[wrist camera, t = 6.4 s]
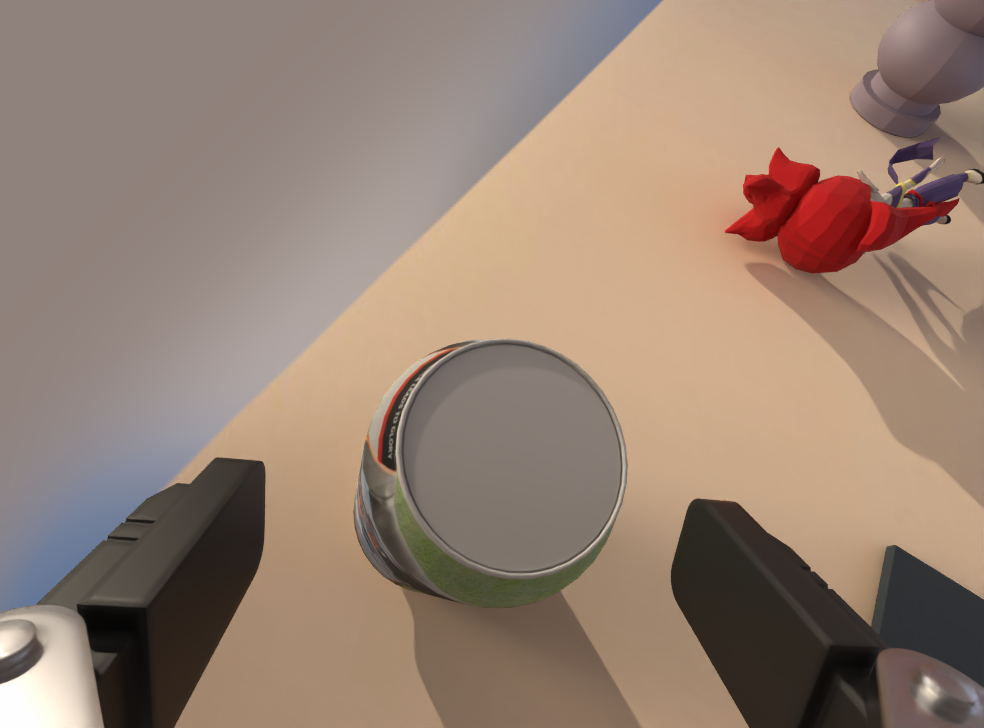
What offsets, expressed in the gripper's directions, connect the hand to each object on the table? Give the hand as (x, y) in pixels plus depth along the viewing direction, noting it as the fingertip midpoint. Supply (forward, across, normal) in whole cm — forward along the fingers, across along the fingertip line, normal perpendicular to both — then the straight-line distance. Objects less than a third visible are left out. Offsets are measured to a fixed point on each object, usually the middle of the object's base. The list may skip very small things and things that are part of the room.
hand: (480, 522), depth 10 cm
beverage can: (+10, 0, +7) cm, 12 cm away
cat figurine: (+35, -33, -18) cm, 51 cm away
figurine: (+24, -22, -7) cm, 33 cm away
